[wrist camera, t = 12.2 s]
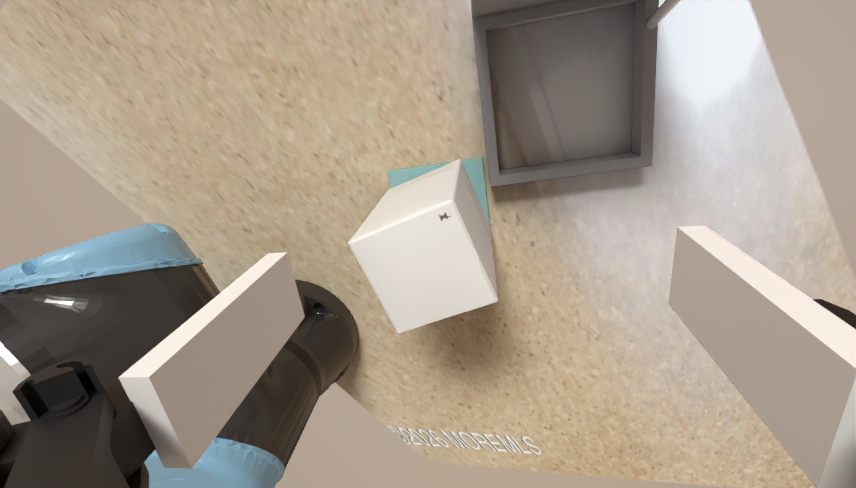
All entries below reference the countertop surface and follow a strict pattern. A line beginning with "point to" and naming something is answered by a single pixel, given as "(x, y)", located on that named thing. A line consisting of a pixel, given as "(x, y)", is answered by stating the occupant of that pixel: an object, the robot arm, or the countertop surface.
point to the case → (524, 3)
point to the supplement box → (428, 249)
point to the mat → (472, 166)
